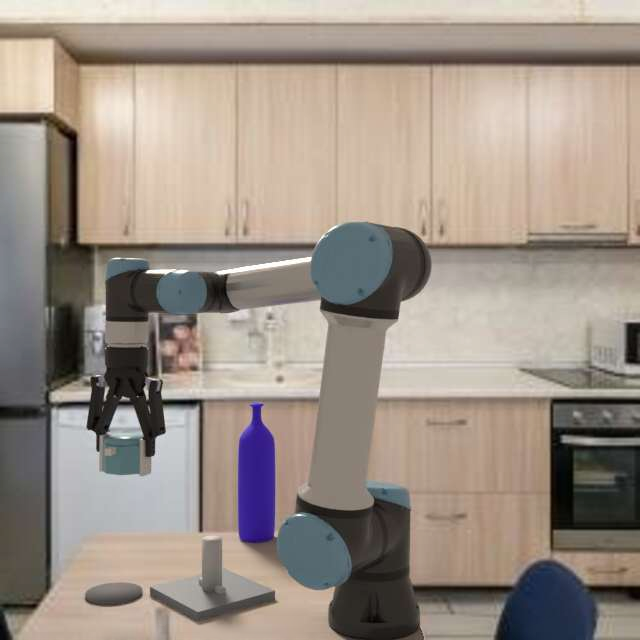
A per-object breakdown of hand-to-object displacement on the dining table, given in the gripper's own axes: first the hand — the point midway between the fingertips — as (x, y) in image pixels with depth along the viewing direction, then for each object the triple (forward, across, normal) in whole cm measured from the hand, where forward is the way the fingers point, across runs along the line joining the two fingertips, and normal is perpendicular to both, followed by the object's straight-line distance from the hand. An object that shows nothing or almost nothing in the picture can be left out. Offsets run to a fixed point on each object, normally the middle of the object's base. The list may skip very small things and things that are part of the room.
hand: (125, 472), depth 151 cm
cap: (0, 0, 0) cm, 0 cm away
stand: (+22, -16, -4) cm, 27 cm away
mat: (+22, +1, +1) cm, 22 cm away
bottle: (+22, -7, -41) cm, 47 cm away
